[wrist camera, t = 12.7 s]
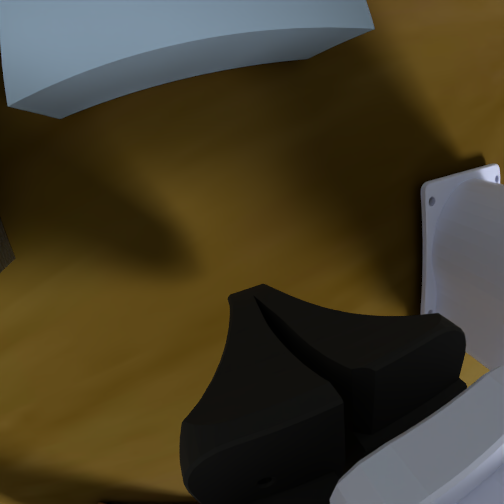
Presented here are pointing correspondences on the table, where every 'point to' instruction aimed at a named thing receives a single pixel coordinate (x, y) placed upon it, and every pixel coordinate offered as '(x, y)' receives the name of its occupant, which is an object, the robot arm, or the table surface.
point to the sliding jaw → (154, 43)
